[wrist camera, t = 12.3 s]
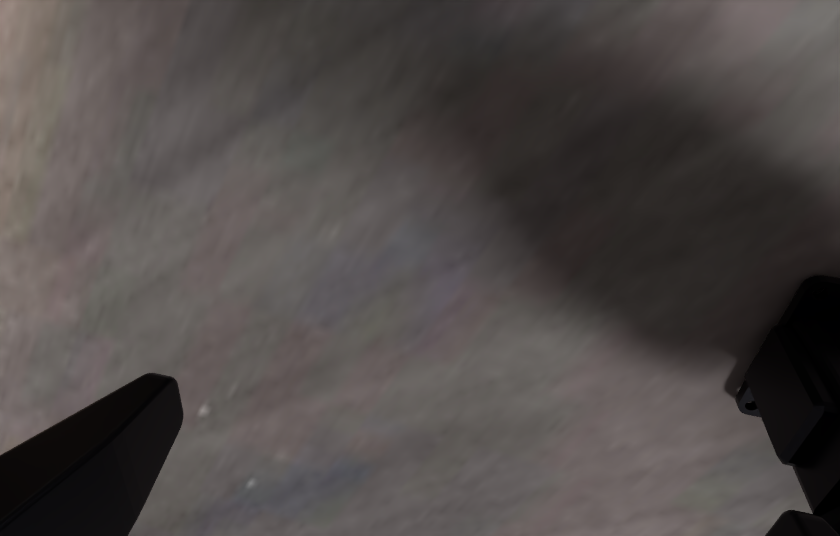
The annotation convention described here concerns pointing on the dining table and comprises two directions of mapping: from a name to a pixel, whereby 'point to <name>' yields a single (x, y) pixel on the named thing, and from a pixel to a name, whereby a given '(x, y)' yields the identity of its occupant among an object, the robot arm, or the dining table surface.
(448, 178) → the dining table surface
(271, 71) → the dining table surface
